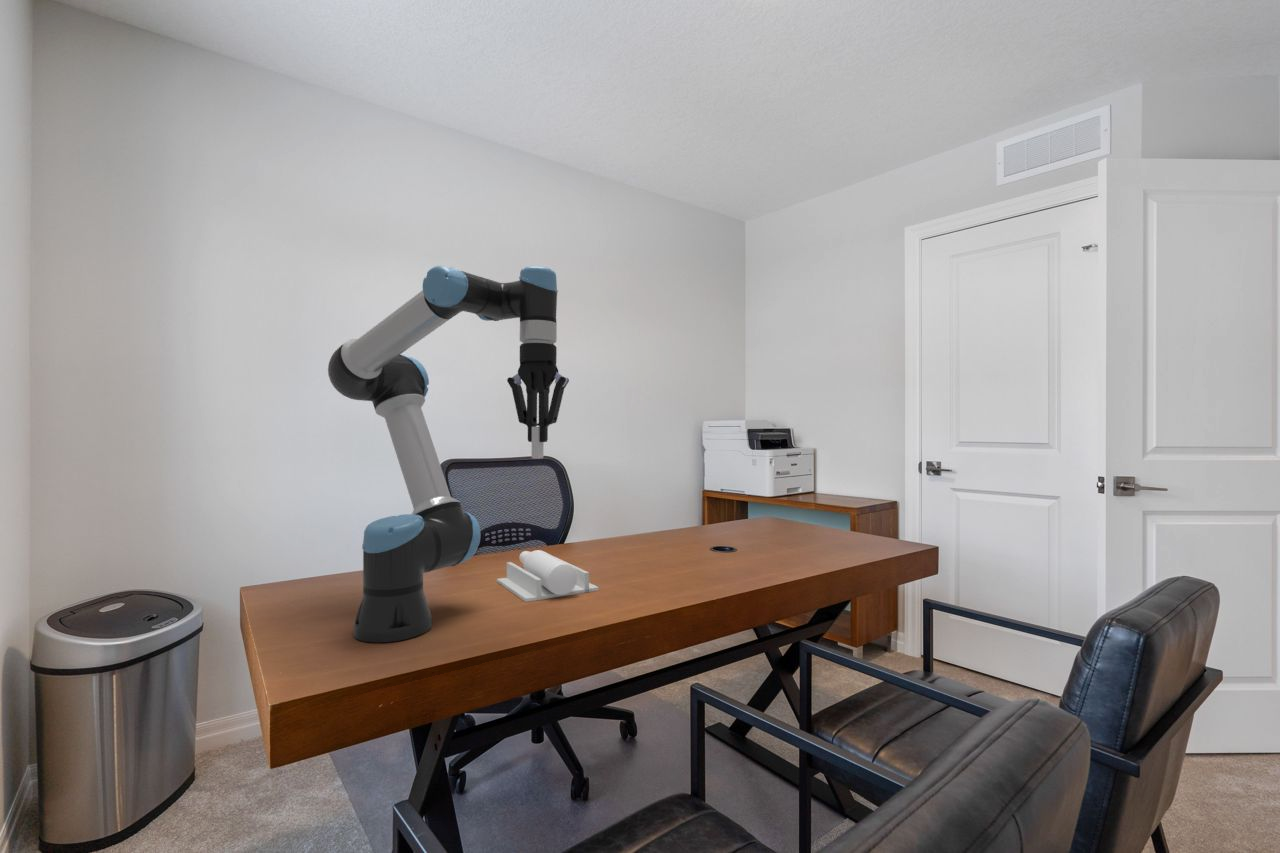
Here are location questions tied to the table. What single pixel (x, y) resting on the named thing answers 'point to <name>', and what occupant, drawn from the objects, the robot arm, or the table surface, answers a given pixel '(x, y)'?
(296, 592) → the table surface
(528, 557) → the bottle
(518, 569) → the u rest
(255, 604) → the table surface
